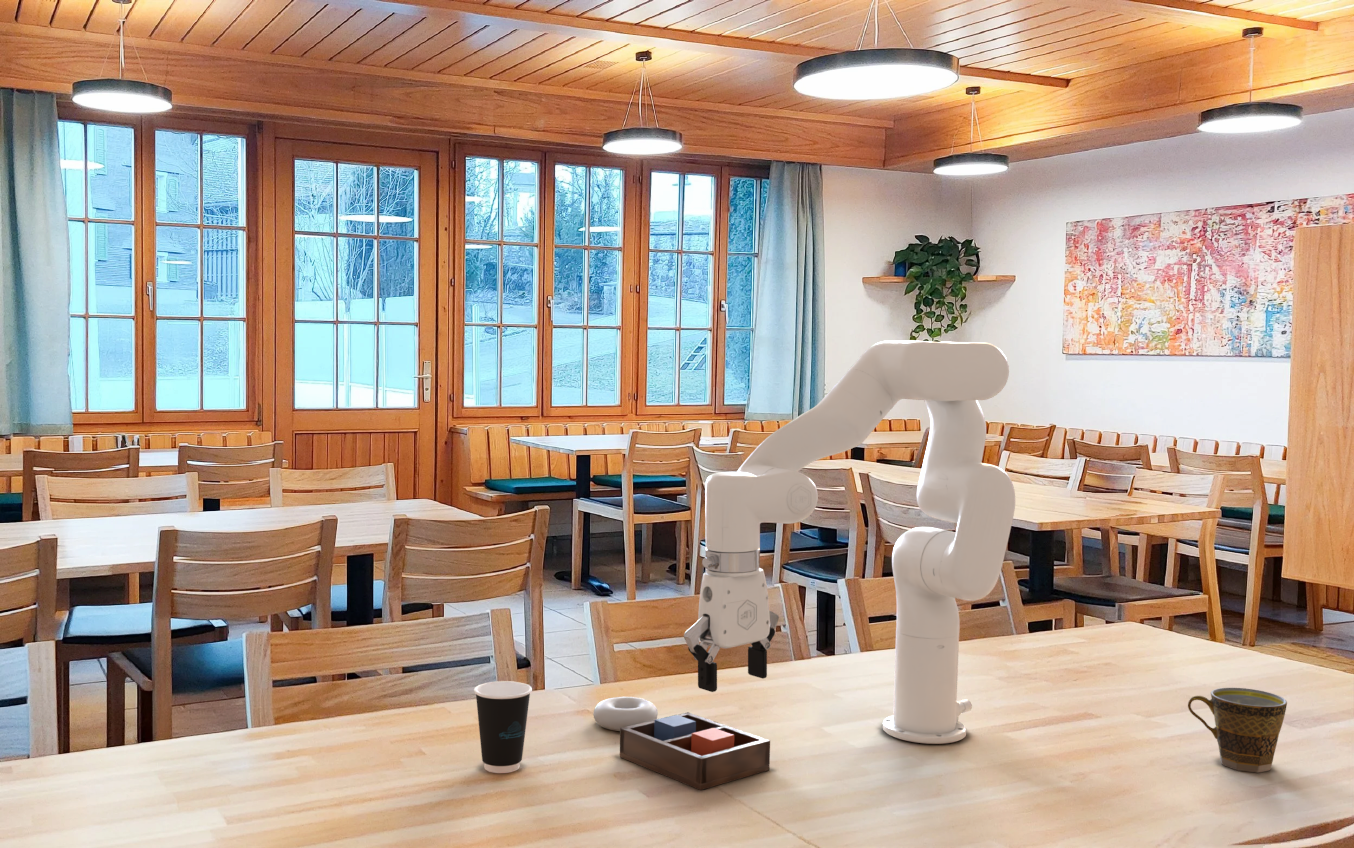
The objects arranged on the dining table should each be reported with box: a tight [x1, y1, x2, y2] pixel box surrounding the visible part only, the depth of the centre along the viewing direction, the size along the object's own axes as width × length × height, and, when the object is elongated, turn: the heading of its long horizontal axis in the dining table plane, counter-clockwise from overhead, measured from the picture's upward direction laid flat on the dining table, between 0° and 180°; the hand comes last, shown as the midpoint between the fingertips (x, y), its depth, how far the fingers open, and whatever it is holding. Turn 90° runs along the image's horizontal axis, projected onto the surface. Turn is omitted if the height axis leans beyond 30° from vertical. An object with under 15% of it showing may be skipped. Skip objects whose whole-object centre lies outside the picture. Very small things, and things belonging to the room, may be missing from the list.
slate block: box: [654, 714, 696, 741], centre depth 177 cm, size 4×4×4 cm
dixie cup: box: [473, 680, 533, 774], centre depth 171 cm, size 8×8×11 cm
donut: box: [592, 696, 659, 732], centre depth 192 cm, size 10×4×10 cm
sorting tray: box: [619, 711, 771, 791], centre depth 174 cm, size 13×17×4 cm
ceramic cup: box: [1187, 687, 1288, 773], centre depth 180 cm, size 13×10×10 cm
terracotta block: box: [691, 728, 734, 756], centre depth 171 cm, size 4×4×4 cm
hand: (732, 682), depth 173 cm, fingers open, 9 cm apart
